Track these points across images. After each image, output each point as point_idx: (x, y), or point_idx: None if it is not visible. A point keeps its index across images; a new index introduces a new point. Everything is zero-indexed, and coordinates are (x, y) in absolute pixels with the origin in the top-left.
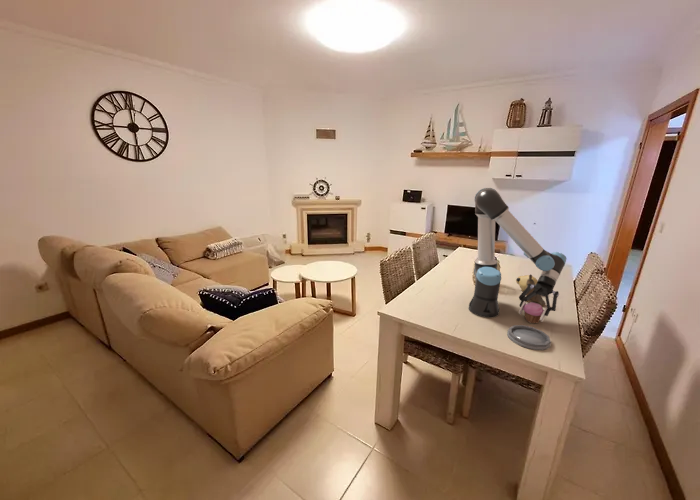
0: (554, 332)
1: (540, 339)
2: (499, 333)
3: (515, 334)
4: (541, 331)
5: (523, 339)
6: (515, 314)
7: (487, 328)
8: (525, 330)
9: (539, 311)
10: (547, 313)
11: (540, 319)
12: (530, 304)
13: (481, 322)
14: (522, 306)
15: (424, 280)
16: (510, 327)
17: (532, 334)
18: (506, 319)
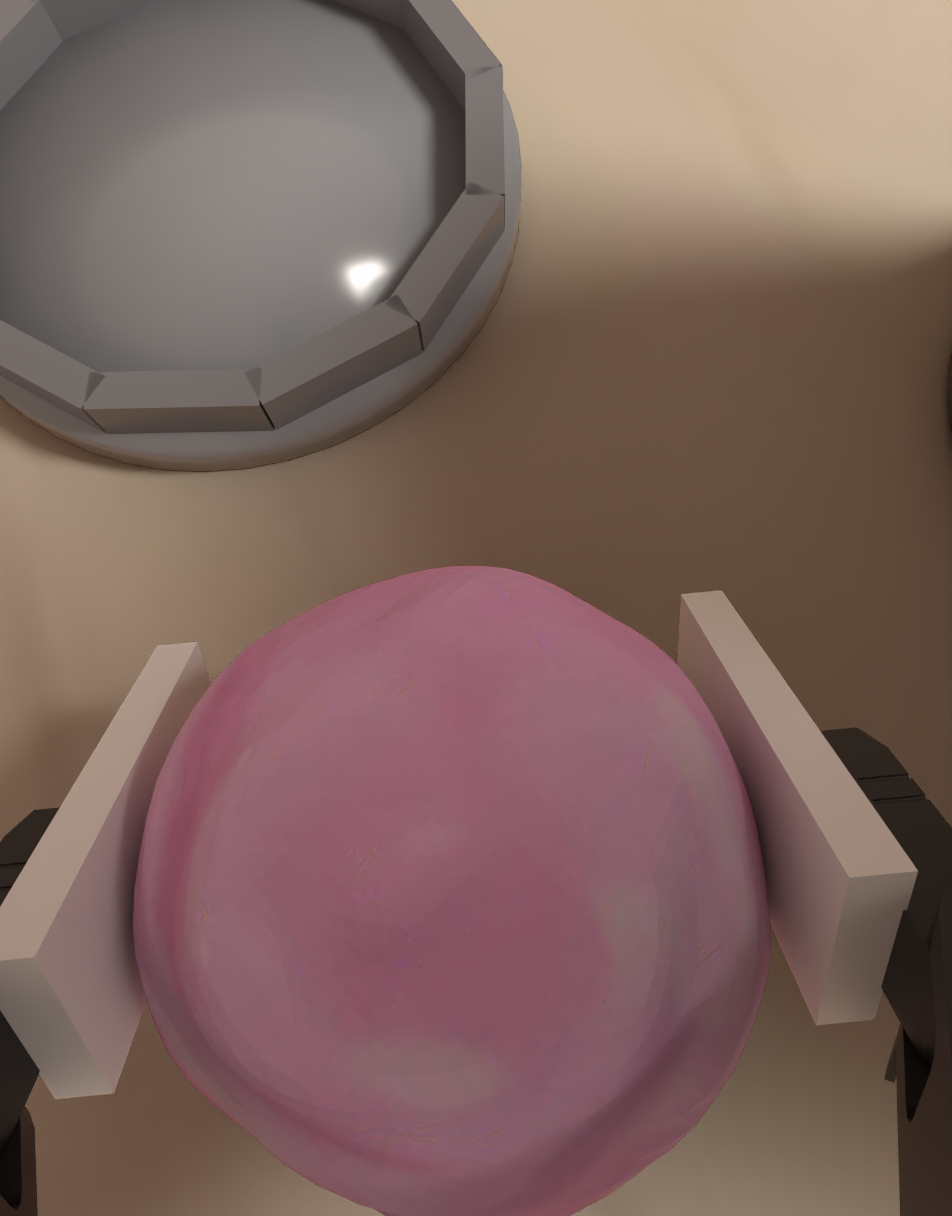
0: (3, 780)
1: (64, 244)
2: (557, 31)
3: (372, 82)
4: (91, 389)
5: (234, 55)
6: None
7: (736, 10)
8: (332, 304)
9: (200, 702)
10: (2, 861)
11: (184, 651)
12: (543, 717)
13: (909, 74)
14: (755, 698)
15: None
16: (494, 90)
17: (202, 277)
18: (782, 493)
